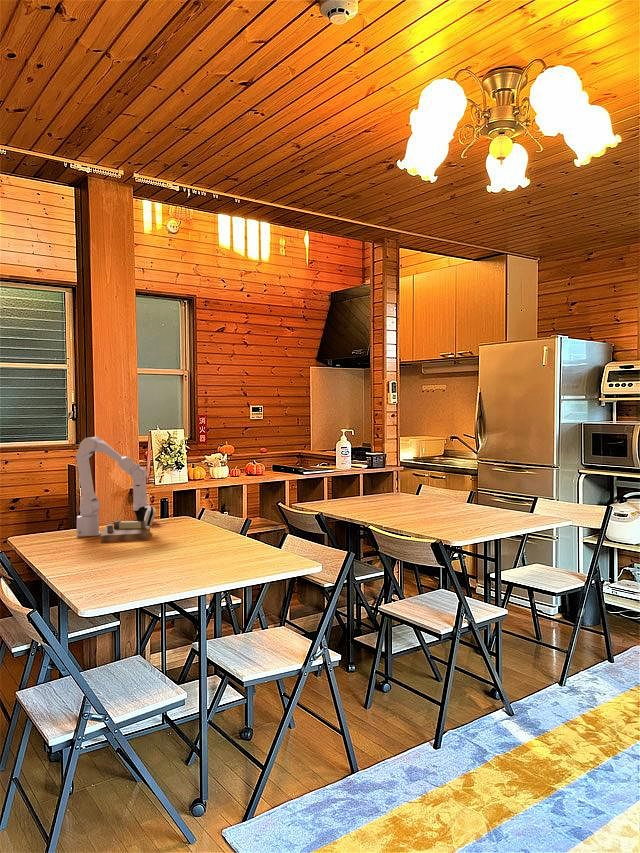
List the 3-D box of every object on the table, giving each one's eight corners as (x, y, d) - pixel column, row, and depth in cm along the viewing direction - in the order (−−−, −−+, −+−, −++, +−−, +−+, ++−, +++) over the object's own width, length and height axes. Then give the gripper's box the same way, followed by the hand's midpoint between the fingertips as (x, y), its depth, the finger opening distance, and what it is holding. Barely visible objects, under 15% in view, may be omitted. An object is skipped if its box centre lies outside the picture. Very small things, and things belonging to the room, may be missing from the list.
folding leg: (112, 529, 294) (112, 522, 293) (115, 527, 297) (114, 520, 297) (143, 528, 293) (143, 521, 293) (145, 527, 297) (145, 520, 297)
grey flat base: (100, 542, 279) (100, 528, 279) (104, 534, 297) (103, 521, 297) (149, 539, 284) (149, 526, 284) (150, 532, 301) (149, 519, 301)
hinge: (137, 521, 330) (143, 502, 331) (146, 524, 332) (152, 505, 333) (140, 527, 315) (147, 507, 316) (150, 529, 316) (157, 509, 317)
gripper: (143, 496, 289) (144, 527, 289) (153, 491, 303) (154, 521, 304) (127, 496, 289) (128, 527, 290) (138, 492, 304) (139, 521, 304)
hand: (140, 524), depth 297 cm, fingers closed, pressing on folding leg
